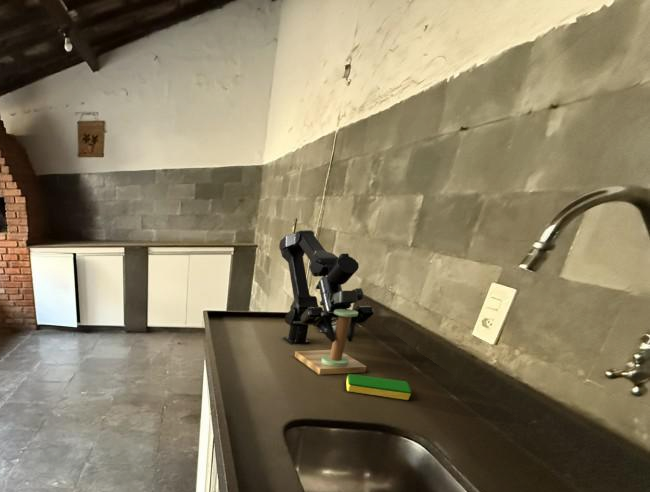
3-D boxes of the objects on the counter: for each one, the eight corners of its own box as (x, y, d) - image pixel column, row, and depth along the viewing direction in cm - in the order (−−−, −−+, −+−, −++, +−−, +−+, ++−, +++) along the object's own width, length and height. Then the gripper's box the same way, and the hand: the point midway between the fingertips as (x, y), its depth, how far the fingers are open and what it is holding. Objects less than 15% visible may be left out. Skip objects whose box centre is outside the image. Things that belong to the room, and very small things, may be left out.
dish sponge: (346, 381, 115) (348, 373, 114) (404, 389, 110) (407, 381, 109) (346, 391, 109) (348, 383, 108) (408, 400, 104) (411, 391, 103)
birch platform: (294, 356, 133) (295, 351, 132) (336, 354, 134) (337, 349, 133) (319, 374, 120) (320, 368, 119) (365, 372, 121) (367, 366, 120)
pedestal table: (316, 361, 124) (327, 310, 117) (330, 356, 127) (341, 307, 120) (338, 368, 119) (350, 315, 112) (352, 363, 122) (365, 312, 115)
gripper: (312, 278, 116) (322, 328, 111) (379, 277, 116) (392, 327, 111) (296, 300, 126) (304, 347, 121) (357, 299, 127) (368, 345, 122)
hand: (342, 341), depth 119 cm, fingers open, 5 cm apart
